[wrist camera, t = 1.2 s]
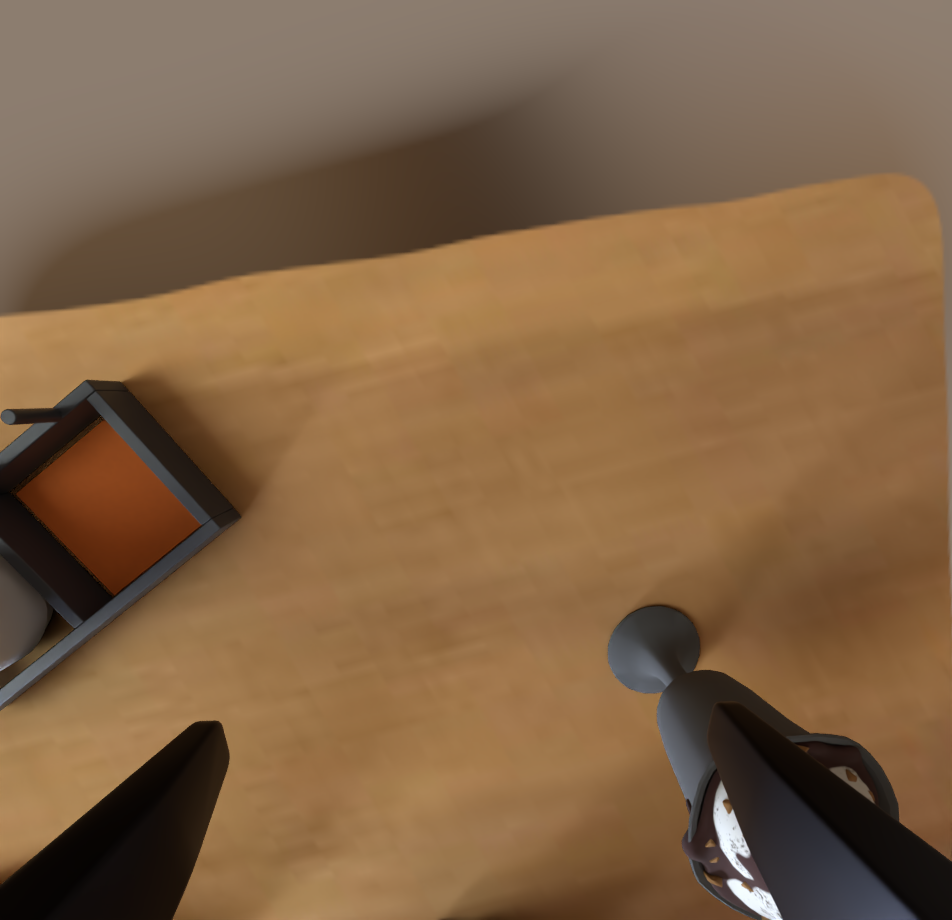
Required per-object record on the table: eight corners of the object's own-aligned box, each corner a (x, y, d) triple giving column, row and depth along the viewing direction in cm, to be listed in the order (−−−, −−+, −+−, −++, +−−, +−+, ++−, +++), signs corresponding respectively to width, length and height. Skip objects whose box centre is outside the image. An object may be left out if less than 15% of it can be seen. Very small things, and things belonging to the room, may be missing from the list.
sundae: (587, 595, 23) (812, 942, 8) (715, 585, 23) (1156, 910, 9) (591, 711, 24) (799, 1209, 9) (713, 701, 24) (1110, 1175, 9)
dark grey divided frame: (242, 516, 22) (194, 542, 18) (4, 707, 23) (-91, 771, 19) (120, 380, 21) (42, 376, 17) (-124, 587, 22) (-252, 628, 18)
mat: (216, 513, 22) (214, 515, 22) (117, 593, 22) (114, 595, 22) (120, 408, 21) (117, 408, 21) (19, 492, 22) (15, 493, 21)
